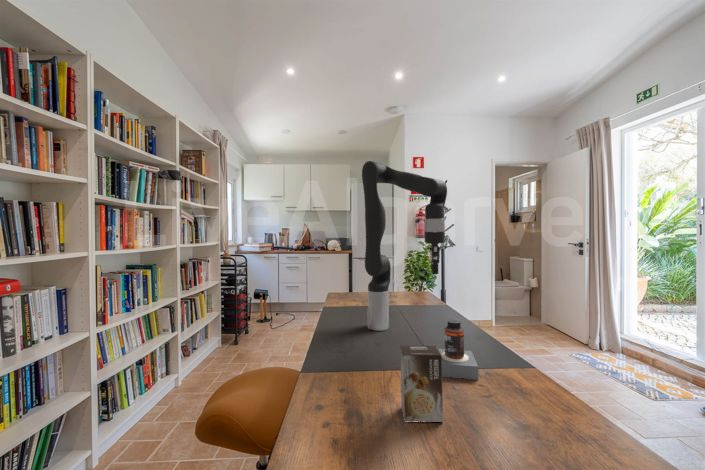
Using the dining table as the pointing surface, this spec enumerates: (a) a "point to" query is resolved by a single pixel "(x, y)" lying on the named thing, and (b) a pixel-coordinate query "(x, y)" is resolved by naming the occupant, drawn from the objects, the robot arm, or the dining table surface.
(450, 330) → the supplement bottle
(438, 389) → the coffee box
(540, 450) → the dining table surface
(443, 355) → the base block
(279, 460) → the dining table surface
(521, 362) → the dining table surface
